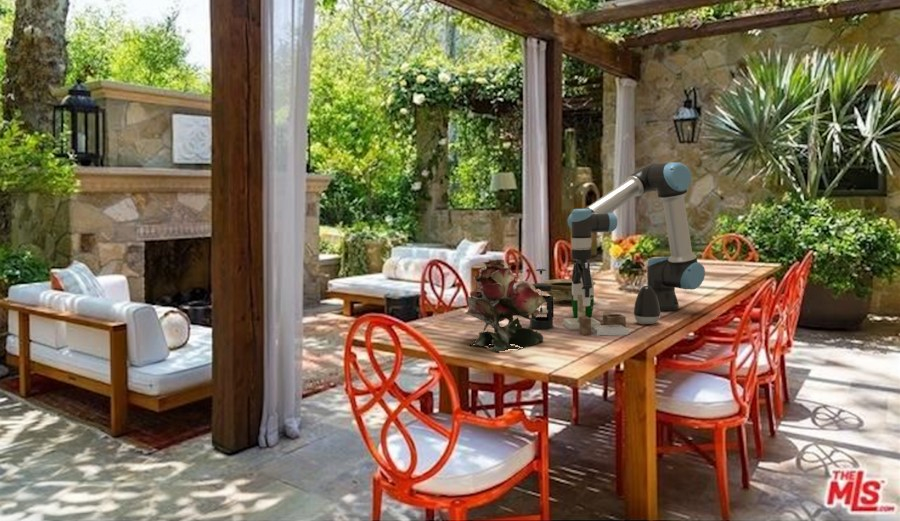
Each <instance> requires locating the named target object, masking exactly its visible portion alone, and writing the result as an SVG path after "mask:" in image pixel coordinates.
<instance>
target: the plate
mask: <svg viewBox="0 0 900 521" xmlns="http://www.w3.org/2000/svg"><path fill="white" fill-rule="evenodd" d="M629 330H630V329H629V328H627V326H626V327H624V326H622V325H603V324H602V325H601V324H600V325H598V326H591V333H592V332H593V333H594V334H593V333H592V334H593V335H595V336H596V335H597V336H596V337H601V336H600V335H609V336H627V335H628V334H630V331H629Z"/></svg>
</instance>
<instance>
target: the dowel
mask: <svg viewBox="0 0 900 521" xmlns="http://www.w3.org/2000/svg"><path fill="white" fill-rule="evenodd" d="M581 316H585V306H583V295H578V323H579V317H581Z"/></svg>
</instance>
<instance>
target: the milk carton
mask: <svg viewBox="0 0 900 521" xmlns="http://www.w3.org/2000/svg"><path fill="white" fill-rule="evenodd" d="M590 274H591V282H592V288H591V289H590V306H585V316H588V317H589V318H593V316H592V315H593V312H594V303H595V302H594V301H595V299H594V298H595V297H594V296H595V295H594V293H595V292H594V291H595V290H594V286H595V285H593V281H594V279H593V273H590ZM580 281H581V283H578V284H581V295H583V289H582V287H583V283H582V278H581V279H580ZM571 307H572V308H571V309H572V314H573V315H572V316H573V319H574V318H578V300H573V281H572V304H571Z"/></svg>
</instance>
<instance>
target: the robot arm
mask: <svg viewBox="0 0 900 521" xmlns="http://www.w3.org/2000/svg"><path fill="white" fill-rule="evenodd" d="M691 182H692V174H691V171H690V169H689V168H688V167H687V165H684V163H682V162H675V161H674V162H673V161H671V162H659V163H658V162H657V163H650V164H648V165H646V166H644V167H641V168H639V169H638V170H637V171H635V172H633V173H632V174H630V175H629V176H627V177H626V180H625V181H624V182H622V183H621V184H619V185H618V186H617V187H615V188H614V189H612V190H611V191H609V192H608V193H606V194H605V195H603V196H602V197H600V198H599V199H596V201H594V202H592V203H591V204H590V205H588V206H587V207H585V208H574V209H572V212H571V213H570V214H569V216H568V217H567V225H568V227H569V228H570V229H571V248H572V250H571V259H573V266H572V267H573V268H572V275H571V279H572V281H573V300H578V295H581V284H578V283H581V281H580V279H581V278H582V283H583V287H582V289H583V306H590V289H591V288H592V282H591V274H592V273H591V267H590V262H588V260H591V259H592V249H591V248H592V243H593V239H592V234H593V233H609V232H613V231H615V230H616V229H617V227H618V218H617V216H616V214H615V213H613V212H614V211H616V210H618V208H620V207H622V206H623V205H625V204H626V203H627V202H629V201H631V200H632V199H633V198H635V197H640V196H643V195H644V194H646V193H648V192H650V193H651V192H656V193H657V198H658V199H659V200H661V201H662V206H663V212H664V218H665V219H664V220H665V224H666V225H665V226H666V232H667V238H668V245H669V250H670V251H669V252H670V256H661V257H660V256H659V257H650V258H648V261H647V266H646V270H647V271H646V273H647V274H646V276H647V278H646V280H647V282H646V283H647V284H646V286H650V287H652V288H653V289H654V291H655V293H656V295H657V298H658V302H659V306H660V312H666V311H665V310H674V309H678V308H680V307H679V306H680V305H679V304H680V303H679V301H678V298H677V295H676V289H675V288H677V289H683V290H691V291H693V290H695V289H697V288H699V287H700V286H701V285H702V284H703V282H704V279H705V277H706V269H705V267H704V265H703V264H702V263H701V262H698V256H697V255H696V254H695V253H693V249H692V242H691V234H690V228H689V223H688V215H687V209H686V202H685V197H686V195H687V194H688V189H689V187H690V186H691ZM678 310H679V309H678ZM674 311H675V310H674Z"/></svg>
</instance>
